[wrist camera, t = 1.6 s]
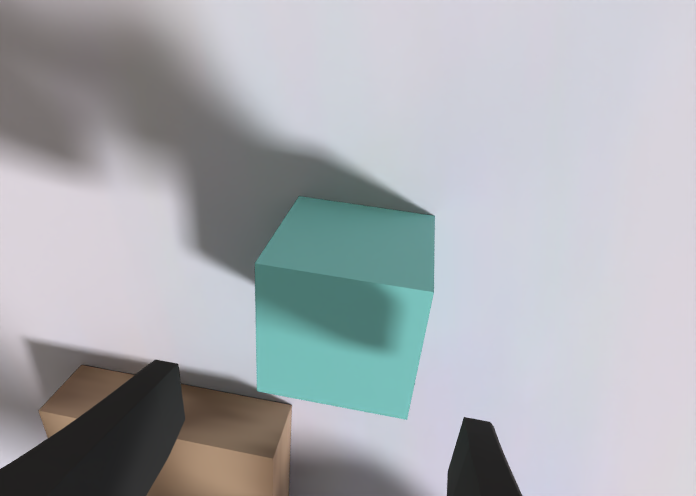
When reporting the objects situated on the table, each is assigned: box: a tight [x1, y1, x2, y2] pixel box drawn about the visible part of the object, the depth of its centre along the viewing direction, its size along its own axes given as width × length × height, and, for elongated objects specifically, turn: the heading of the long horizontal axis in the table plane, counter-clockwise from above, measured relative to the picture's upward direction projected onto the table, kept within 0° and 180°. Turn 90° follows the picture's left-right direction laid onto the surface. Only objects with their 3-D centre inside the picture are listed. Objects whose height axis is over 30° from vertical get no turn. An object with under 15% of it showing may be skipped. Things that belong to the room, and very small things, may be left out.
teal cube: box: [255, 196, 435, 420], centre depth 16 cm, size 5×5×5 cm
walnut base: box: [39, 365, 292, 496], centre depth 25 cm, size 11×11×3 cm
